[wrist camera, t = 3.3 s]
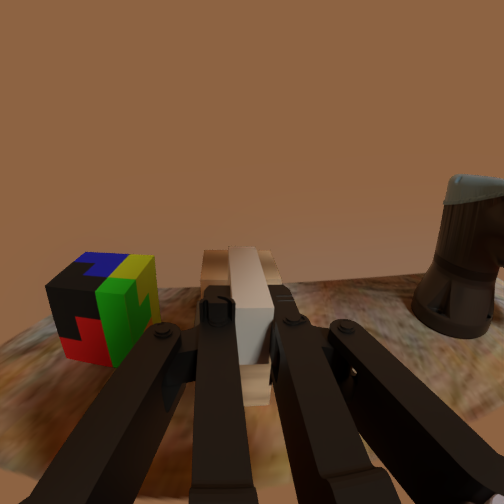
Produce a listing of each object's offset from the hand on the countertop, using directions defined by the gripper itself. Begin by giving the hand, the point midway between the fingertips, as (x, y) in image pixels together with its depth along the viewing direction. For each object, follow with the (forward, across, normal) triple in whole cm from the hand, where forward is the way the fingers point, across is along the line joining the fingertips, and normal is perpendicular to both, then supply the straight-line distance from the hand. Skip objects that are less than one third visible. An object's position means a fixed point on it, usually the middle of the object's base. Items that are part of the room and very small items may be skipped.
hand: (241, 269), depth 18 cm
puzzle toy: (+15, -15, -17) cm, 27 cm away
